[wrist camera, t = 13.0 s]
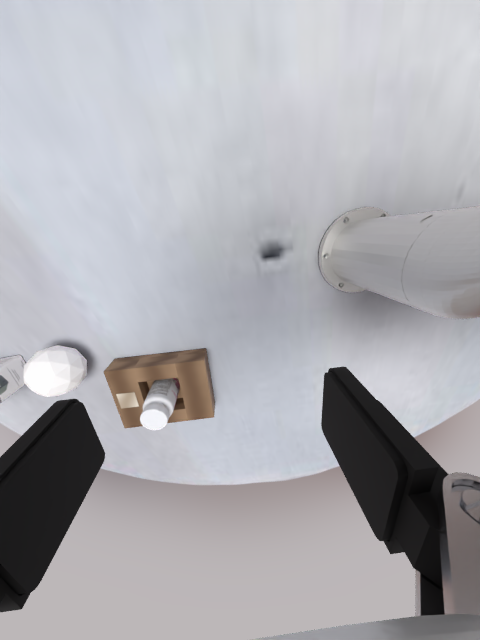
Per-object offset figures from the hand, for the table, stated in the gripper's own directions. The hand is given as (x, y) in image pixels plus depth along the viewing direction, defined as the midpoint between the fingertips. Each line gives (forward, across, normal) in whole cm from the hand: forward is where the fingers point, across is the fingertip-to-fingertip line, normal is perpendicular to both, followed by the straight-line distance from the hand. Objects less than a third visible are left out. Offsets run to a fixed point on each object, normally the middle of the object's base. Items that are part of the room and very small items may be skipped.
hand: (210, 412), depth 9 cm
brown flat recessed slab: (+28, +12, +18) cm, 36 cm away
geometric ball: (+28, +27, +11) cm, 41 cm away
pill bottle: (+28, +12, +18) cm, 35 cm away
